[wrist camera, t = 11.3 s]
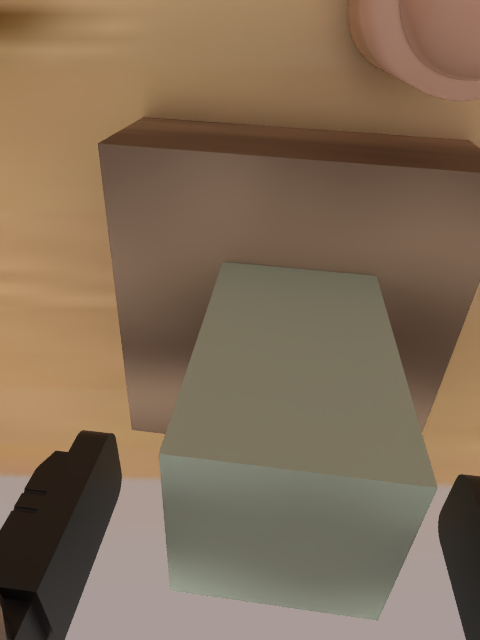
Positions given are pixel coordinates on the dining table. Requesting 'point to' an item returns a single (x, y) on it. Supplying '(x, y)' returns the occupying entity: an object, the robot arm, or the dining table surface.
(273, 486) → the green block
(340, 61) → the dining table surface
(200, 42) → the dining table surface
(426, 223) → the walnut block
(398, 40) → the terracotta shaker
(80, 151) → the dining table surface
